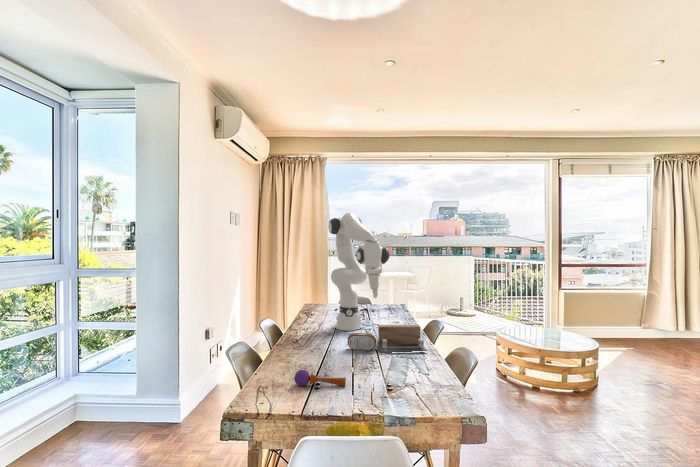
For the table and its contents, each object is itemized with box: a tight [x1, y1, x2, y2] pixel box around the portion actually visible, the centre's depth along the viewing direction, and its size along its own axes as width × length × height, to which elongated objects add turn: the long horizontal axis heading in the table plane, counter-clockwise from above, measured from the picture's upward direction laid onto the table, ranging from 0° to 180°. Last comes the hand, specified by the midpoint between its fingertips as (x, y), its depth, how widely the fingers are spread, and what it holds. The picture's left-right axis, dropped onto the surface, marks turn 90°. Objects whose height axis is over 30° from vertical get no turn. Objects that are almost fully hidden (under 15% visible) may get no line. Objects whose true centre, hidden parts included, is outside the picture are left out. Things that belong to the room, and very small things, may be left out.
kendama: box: [293, 369, 347, 387], centre depth 135 cm, size 6×6×20 cm
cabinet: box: [376, 324, 428, 354], centre depth 182 cm, size 16×23×10 cm
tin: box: [347, 332, 378, 351], centre depth 180 cm, size 15×3×8 cm, turn 84°
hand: (375, 296), depth 181 cm, fingers open, 8 cm apart
